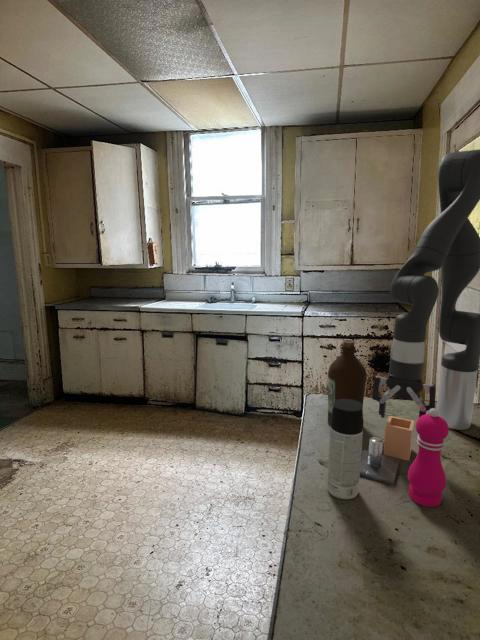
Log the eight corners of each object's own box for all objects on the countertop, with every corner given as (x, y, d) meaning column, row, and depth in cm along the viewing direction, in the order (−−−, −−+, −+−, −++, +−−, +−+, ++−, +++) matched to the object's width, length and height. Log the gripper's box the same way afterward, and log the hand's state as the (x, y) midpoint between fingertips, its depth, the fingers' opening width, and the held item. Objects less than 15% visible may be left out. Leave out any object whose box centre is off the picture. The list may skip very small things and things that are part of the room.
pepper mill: (427, 513, 79) (438, 419, 74) (398, 492, 85) (406, 405, 81) (451, 502, 82) (462, 412, 78) (421, 483, 88) (430, 399, 84)
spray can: (359, 484, 88) (365, 400, 83) (357, 504, 81) (364, 413, 77) (328, 479, 90) (332, 395, 86) (324, 497, 83) (329, 408, 79)
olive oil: (358, 416, 121) (363, 337, 116) (366, 433, 111) (373, 346, 105) (323, 415, 122) (326, 336, 117) (328, 432, 111) (332, 346, 106)
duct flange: (357, 452, 101) (359, 426, 99) (399, 462, 96) (401, 436, 95) (347, 472, 92) (349, 444, 91) (393, 484, 88) (395, 455, 86)
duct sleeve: (387, 443, 105) (389, 415, 103) (411, 449, 102) (414, 420, 101) (383, 454, 100) (385, 425, 98) (409, 460, 97) (412, 430, 95)
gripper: (440, 358, 96) (433, 420, 99) (378, 350, 102) (373, 409, 105) (439, 366, 89) (431, 433, 92) (373, 357, 96) (368, 419, 99)
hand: (400, 420), depth 99 cm, fingers open, 8 cm apart
